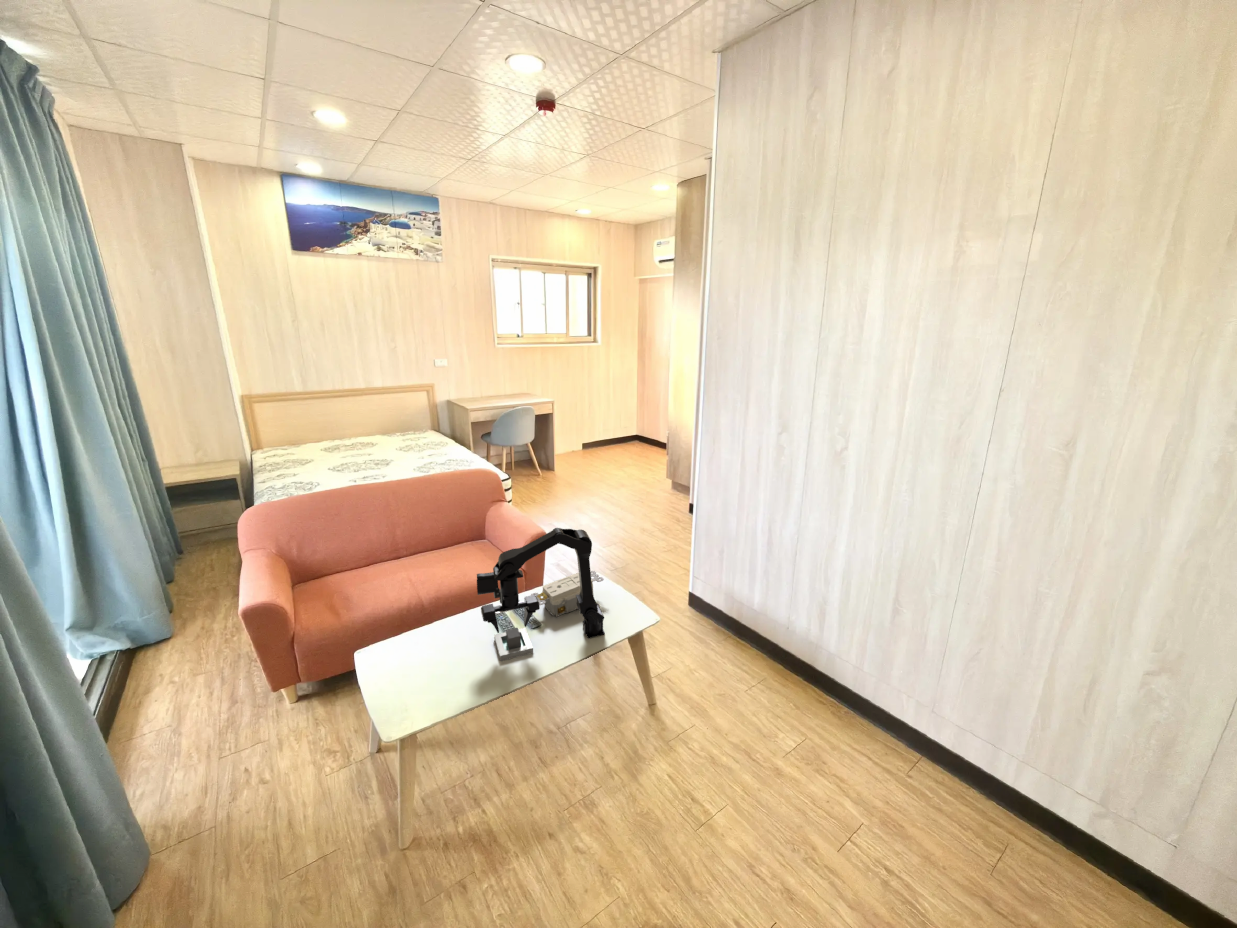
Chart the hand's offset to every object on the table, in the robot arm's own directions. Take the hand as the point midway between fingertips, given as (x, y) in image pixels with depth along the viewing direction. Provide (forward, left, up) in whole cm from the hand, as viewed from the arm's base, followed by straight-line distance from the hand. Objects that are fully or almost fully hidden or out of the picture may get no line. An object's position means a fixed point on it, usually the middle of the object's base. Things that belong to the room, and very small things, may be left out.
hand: (511, 629), depth 165 cm
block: (0, 0, -7) cm, 7 cm away
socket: (0, 0, -7) cm, 7 cm away
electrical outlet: (-25, -17, -7) cm, 31 cm away
